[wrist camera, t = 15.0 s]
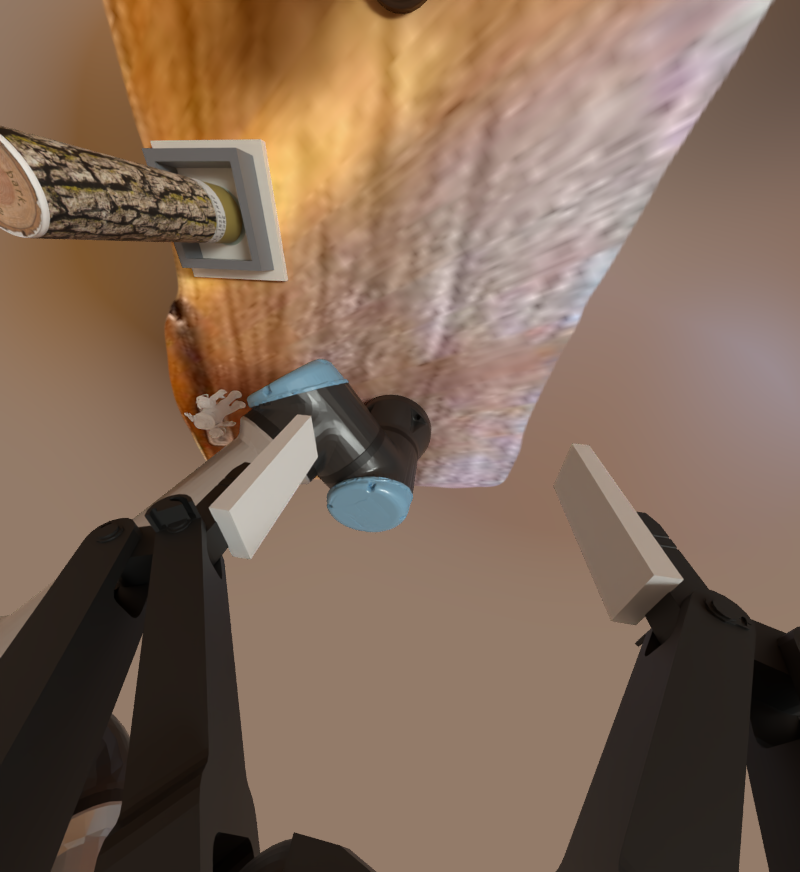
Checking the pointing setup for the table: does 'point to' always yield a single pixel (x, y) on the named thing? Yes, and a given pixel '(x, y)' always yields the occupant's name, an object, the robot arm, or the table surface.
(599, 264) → the table surface
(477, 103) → the table surface
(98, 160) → the paper tube
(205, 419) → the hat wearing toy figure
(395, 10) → the candlestick
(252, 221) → the collar stand
